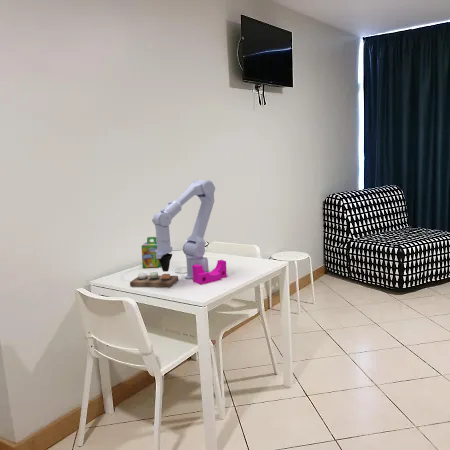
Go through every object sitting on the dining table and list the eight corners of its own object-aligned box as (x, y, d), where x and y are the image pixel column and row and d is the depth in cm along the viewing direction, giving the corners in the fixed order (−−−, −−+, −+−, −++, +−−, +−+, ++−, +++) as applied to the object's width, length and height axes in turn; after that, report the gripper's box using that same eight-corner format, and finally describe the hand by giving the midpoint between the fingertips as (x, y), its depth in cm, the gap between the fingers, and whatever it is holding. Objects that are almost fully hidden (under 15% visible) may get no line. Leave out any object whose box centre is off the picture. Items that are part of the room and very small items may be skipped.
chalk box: (142, 268, 221) (140, 239, 219) (146, 264, 230) (143, 236, 228) (160, 267, 221) (158, 238, 218) (163, 263, 230) (161, 235, 228)
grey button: (148, 276, 196) (147, 273, 196) (144, 279, 192) (144, 275, 192) (140, 276, 197) (140, 273, 196) (137, 278, 193) (136, 275, 193)
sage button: (159, 275, 194) (159, 272, 194) (156, 277, 191) (156, 274, 191) (151, 275, 195) (151, 272, 195) (148, 277, 192) (148, 274, 192)
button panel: (178, 280, 197) (178, 275, 196) (169, 287, 186) (169, 282, 186) (140, 279, 201) (140, 274, 201) (130, 286, 190) (129, 281, 190)
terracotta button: (171, 277, 193) (171, 273, 193) (168, 279, 190) (168, 275, 190) (163, 277, 194) (163, 273, 194) (160, 279, 191) (160, 275, 190)
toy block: (200, 285, 188) (199, 268, 187) (193, 281, 194) (192, 265, 193) (229, 278, 196) (229, 262, 195) (222, 275, 202) (221, 259, 200)
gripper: (160, 237, 197) (163, 266, 199) (147, 243, 183) (150, 275, 185) (175, 237, 196) (178, 266, 198) (163, 243, 182) (166, 275, 184)
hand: (165, 271), depth 191 cm, fingers closed
